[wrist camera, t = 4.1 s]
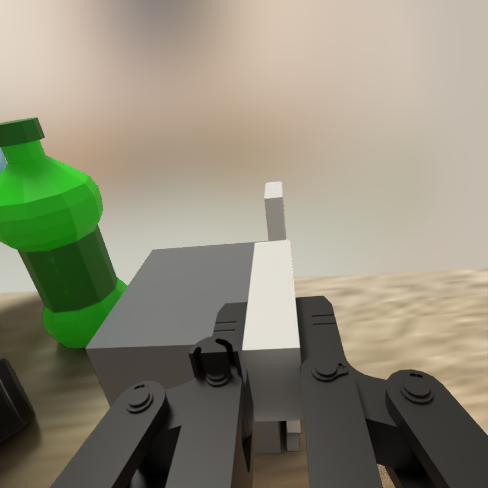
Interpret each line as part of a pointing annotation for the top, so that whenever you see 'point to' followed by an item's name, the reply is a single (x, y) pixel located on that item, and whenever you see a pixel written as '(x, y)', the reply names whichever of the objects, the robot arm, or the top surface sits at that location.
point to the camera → (12, 402)
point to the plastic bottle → (56, 235)
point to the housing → (175, 323)
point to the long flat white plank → (277, 233)
